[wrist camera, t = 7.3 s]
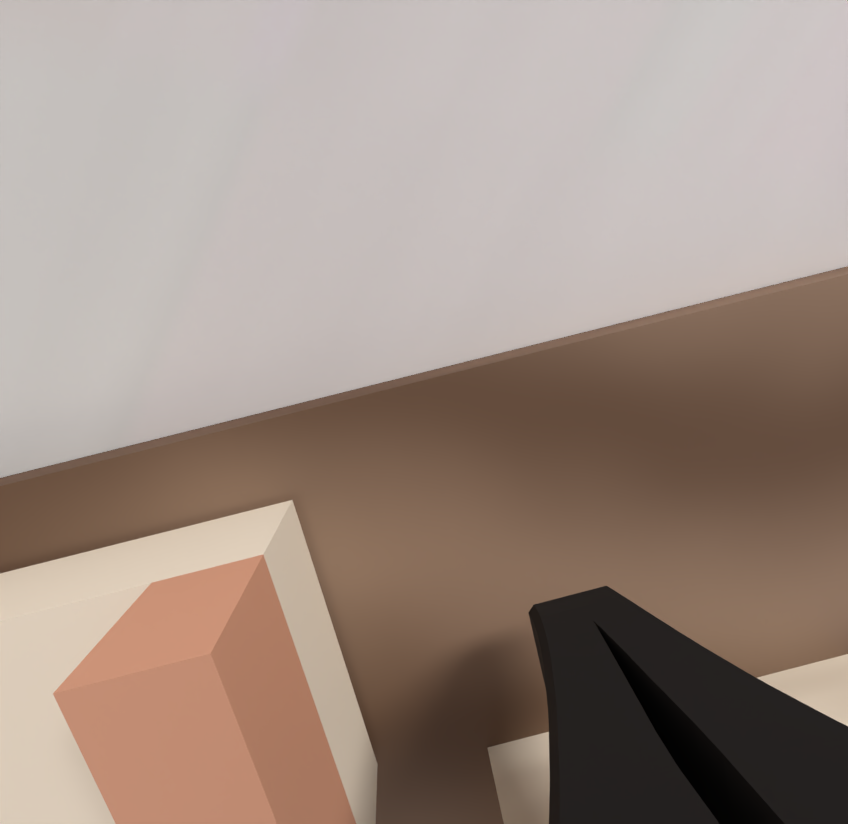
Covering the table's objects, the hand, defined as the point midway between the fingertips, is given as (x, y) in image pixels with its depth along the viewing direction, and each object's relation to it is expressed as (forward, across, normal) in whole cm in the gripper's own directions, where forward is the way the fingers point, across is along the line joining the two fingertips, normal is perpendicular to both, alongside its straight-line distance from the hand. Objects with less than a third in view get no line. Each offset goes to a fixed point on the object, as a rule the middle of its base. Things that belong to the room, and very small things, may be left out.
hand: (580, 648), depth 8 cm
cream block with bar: (+2, +8, 0) cm, 8 cm away
